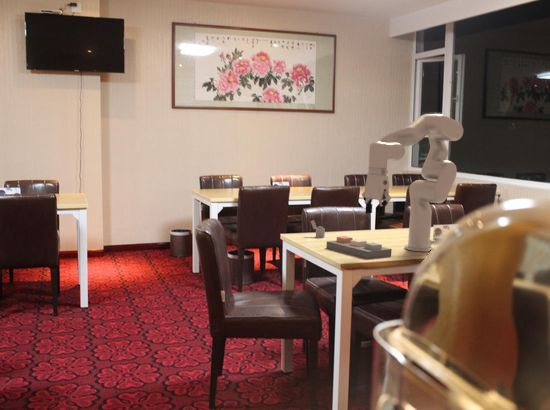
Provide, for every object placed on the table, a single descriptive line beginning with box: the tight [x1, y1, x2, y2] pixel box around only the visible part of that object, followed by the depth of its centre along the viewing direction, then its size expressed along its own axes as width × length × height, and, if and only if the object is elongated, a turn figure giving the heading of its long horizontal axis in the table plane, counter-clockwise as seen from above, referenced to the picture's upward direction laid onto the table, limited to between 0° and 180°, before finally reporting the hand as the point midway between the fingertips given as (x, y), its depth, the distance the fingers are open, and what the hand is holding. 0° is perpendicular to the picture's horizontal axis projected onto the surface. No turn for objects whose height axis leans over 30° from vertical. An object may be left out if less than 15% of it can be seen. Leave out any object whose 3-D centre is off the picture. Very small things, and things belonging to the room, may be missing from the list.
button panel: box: [326, 240, 392, 260], centre depth 258 cm, size 14×26×3 cm, turn 35°
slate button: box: [365, 242, 383, 250], centre depth 250 cm, size 5×5×3 cm
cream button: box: [350, 238, 368, 247], centre depth 258 cm, size 5×5×3 cm
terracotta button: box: [336, 235, 354, 243], centre depth 265 cm, size 5×5×3 cm
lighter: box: [310, 219, 326, 238], centre depth 294 cm, size 7×2×8 cm, turn 65°
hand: (375, 214), depth 249 cm, fingers open, 6 cm apart
